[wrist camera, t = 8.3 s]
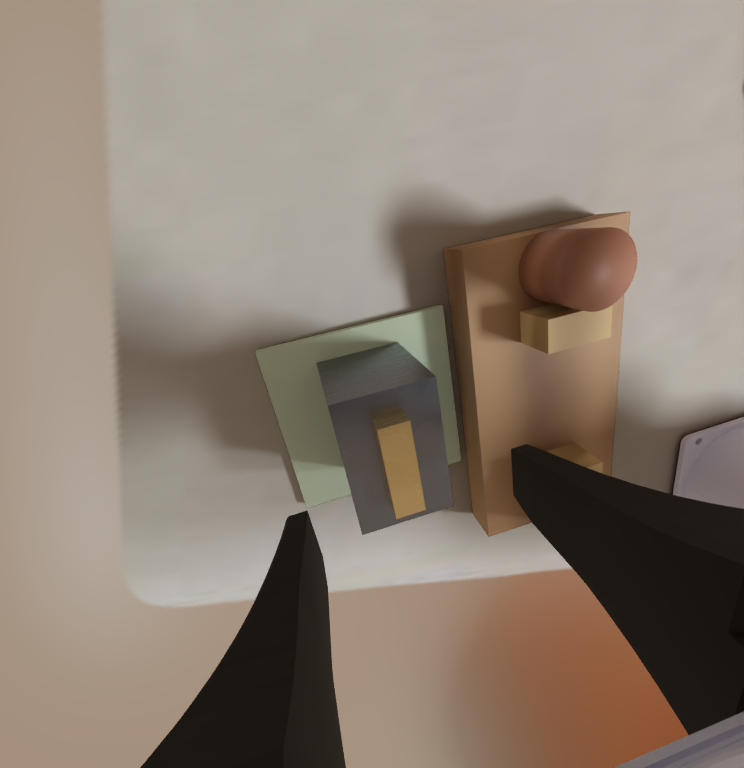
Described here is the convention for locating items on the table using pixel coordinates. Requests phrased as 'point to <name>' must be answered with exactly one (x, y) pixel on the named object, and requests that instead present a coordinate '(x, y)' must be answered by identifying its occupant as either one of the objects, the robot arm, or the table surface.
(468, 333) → the block sculpture plaque
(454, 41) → the table surface
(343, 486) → the mat
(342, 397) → the grey block
